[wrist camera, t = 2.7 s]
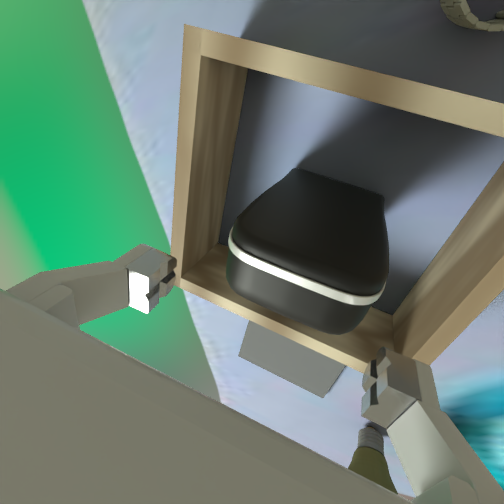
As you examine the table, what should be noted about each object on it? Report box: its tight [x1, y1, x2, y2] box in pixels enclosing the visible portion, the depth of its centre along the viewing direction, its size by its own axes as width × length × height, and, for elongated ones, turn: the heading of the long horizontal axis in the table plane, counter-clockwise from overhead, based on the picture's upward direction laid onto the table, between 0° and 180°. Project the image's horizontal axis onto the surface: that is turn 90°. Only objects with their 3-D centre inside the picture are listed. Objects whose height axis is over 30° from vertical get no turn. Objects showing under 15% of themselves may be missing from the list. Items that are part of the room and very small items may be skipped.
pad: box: [238, 320, 346, 398], centre depth 28 cm, size 10×10×1 cm
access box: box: [171, 24, 504, 373], centre depth 18 cm, size 18×16×6 cm
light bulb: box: [348, 427, 398, 495], centre depth 26 cm, size 6×6×10 cm
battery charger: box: [226, 168, 389, 335], centre depth 16 cm, size 7×4×11 cm, turn 79°
